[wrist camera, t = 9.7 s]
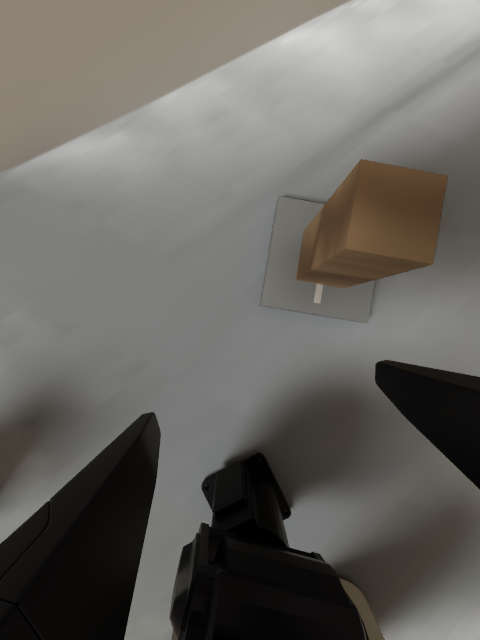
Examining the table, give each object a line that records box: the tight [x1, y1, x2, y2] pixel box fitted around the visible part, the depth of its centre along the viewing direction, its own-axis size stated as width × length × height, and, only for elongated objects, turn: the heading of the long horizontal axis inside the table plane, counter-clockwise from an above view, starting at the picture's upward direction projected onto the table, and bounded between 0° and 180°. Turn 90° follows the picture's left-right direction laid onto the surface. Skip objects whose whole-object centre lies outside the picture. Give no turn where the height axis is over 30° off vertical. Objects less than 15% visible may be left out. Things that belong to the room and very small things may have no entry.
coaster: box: [260, 196, 375, 323], centre depth 21 cm, size 10×10×1 cm
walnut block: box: [296, 159, 448, 288], centre depth 16 cm, size 4×4×9 cm
